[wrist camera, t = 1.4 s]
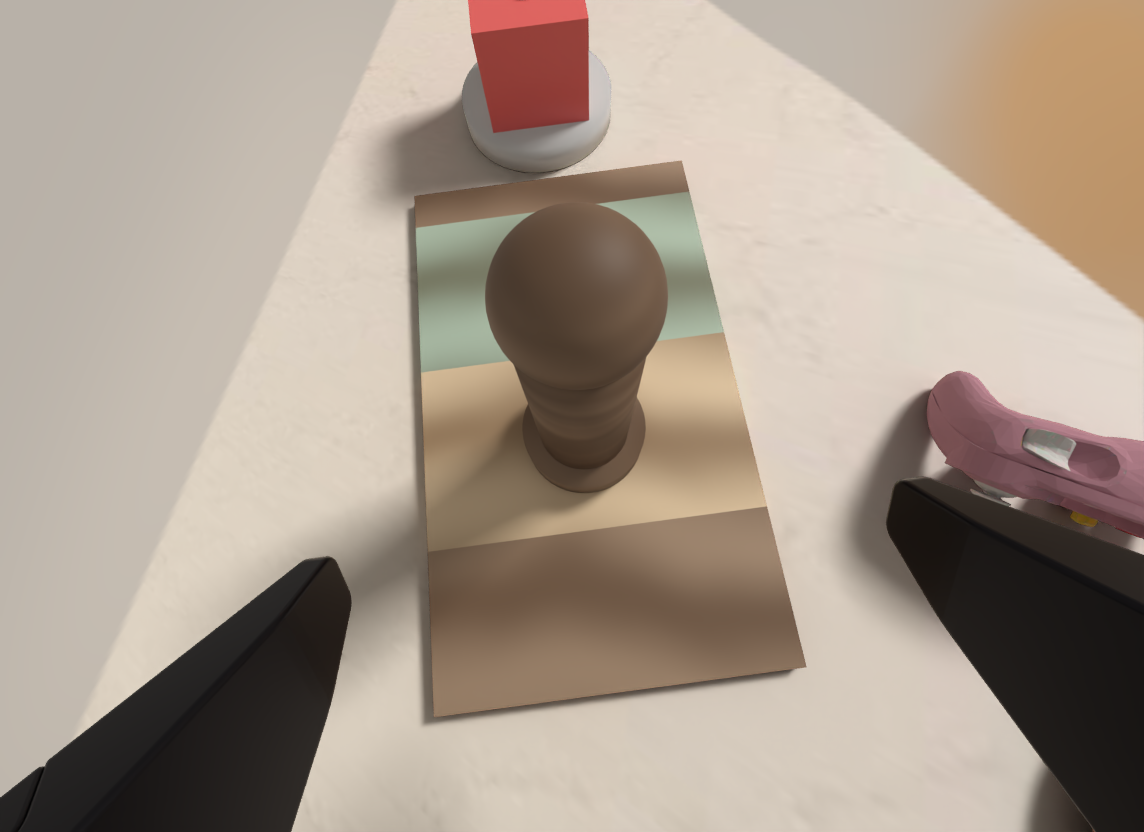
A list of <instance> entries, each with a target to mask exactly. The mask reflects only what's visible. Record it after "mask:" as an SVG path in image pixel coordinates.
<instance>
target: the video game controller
mask: <svg viewBox="0 0 1144 832" xmlns="http://www.w3.org/2000/svg"><path fill="white" fill-rule="evenodd" d="M927 420H928V426H929V429H930V432H931V435H932V438H933V439H934V441H935V443H936V444H937V446H938V448H939V449H940V450H941V452H942V453H943V454H944V455H945V456H946V458H947V459H946V461H945V463H946V464H948V465H950V466H952V467H955V468H957V469H960V470H962V471H963V472H964V473H965V474H966V475H968V476H969V477H970V478H972V479H973V480H974V482H975V483H976V484H977V485H978V486H979V487H980V488H981V489H982V490H983V492H980V491H977V490H974V489H970V491H971V492H972V493H973V494H975V495H978V496H981V497H984V498H987V499H989V500H992V501H995V502H998V503H1000V504H1003V505H1006V506H1011V504H1009V503H1007V502H1005V501H1003V500H1001V499H1000V498H1001V497H1005V498H1014V497H1020V498H1023V499H1041V500H1043V501H1046V502H1049V503H1052V504H1055V505H1060V506H1062V507H1065V508H1067V509H1070V510H1072V511H1073V512H1072V514H1071V516H1070V518H1071V519H1072V520H1073V521H1075V522H1077V523H1079V524H1082V525H1085V526H1089V527H1094V526H1095V525H1096V524H1097V522H1098V521H1101V522H1104V523H1106V524H1109V525H1111V526H1114V527H1116V529H1118V530H1121V531H1123V532H1126V533H1128V534H1131V535H1134V536H1136V537H1139V538H1143V539H1144V441H1138V440H1132V439H1126V438H1117V437H1102V436H1098V435H1095V434H1091V433H1088V432H1085V431H1082V430H1079V429H1076V428H1072V427H1069V426H1066V425H1063V424H1060V423H1056V422H1052V421H1048V420H1044V419H1040V418H1036V417H1032V416H1027V415H1023V414H1020V413H1018V412H1015V411H1012V410H1010V409H1007V408H1006V407H1005V406H1003V405H1002V404H1000V403H999V402H998V401H997V400H996V399H995V398H994V397H993V396H992V395H991V394H990V393H989V391H988V390H987V389H986V388H985V386H984V385H983V384H982V383H981V381H980V380H979V379H978V378H977V377H975V376H973V375H972V374H970V373H967V372H962V371H956V372H953V373H950V374H947V375H946V376H945V377H943V378H942V379H941V380H940V381H939V382H937V384H936V385H935V386H934V388H933V389H932V390H931V392H930V395H929V398H928V404H927Z"/></svg>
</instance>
